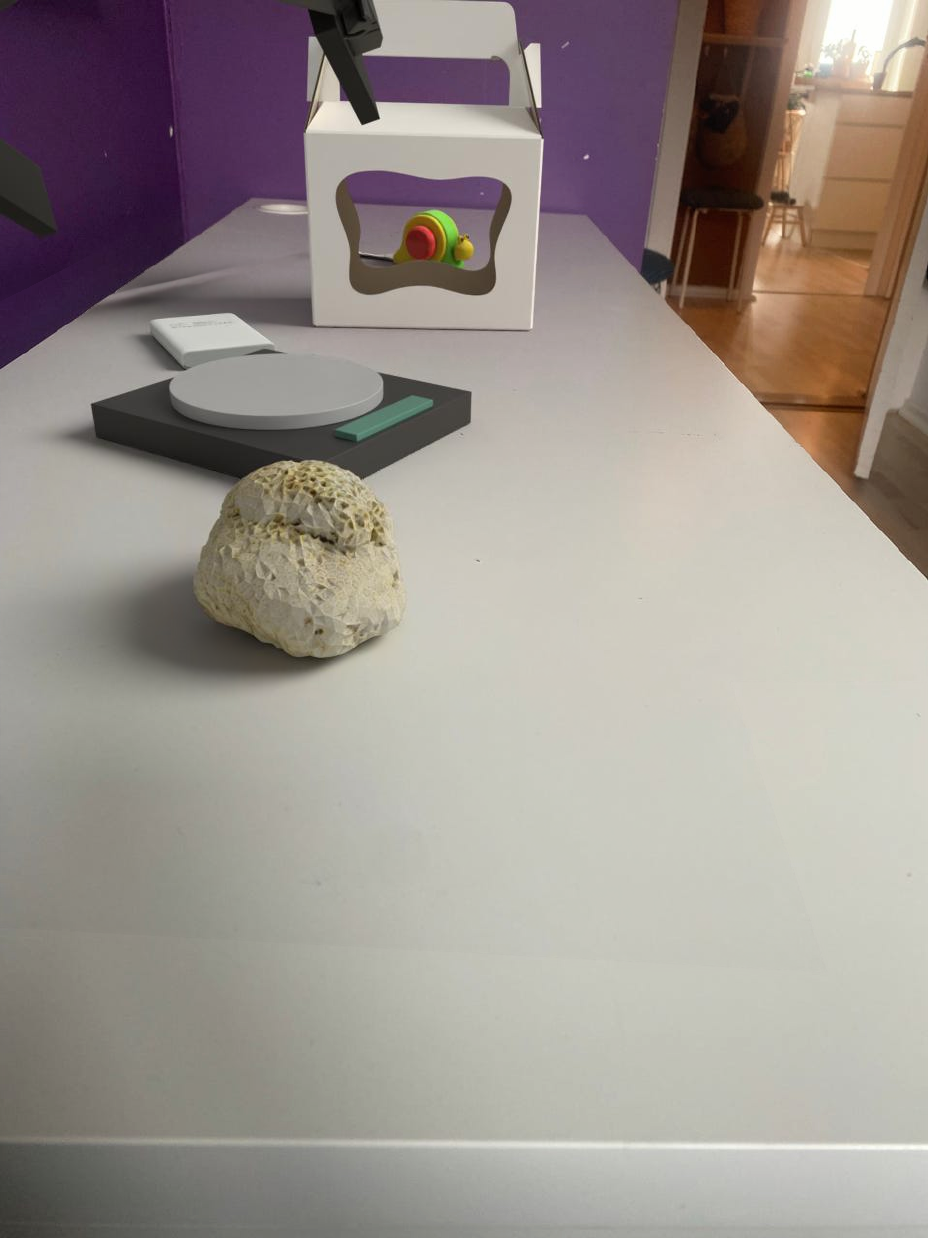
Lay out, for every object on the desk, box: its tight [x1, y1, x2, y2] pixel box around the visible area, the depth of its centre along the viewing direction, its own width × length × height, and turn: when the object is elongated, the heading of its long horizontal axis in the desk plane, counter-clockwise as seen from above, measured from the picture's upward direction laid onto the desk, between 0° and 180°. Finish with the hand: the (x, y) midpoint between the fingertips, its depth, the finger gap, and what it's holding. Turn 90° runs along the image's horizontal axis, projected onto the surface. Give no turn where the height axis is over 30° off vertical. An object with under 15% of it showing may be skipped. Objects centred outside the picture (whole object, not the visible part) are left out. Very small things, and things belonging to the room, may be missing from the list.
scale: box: [90, 349, 473, 481], centre depth 72 cm, size 20×18×3 cm
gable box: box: [303, 0, 545, 331], centre depth 98 cm, size 22×13×28 cm, turn 92°
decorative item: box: [192, 460, 408, 659], centre depth 48 cm, size 12×9×10 cm
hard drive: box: [149, 312, 276, 370], centre depth 91 cm, size 2×8×12 cm
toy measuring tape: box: [359, 209, 475, 269], centre depth 127 cm, size 6×19×7 cm, turn 58°
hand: (197, 146), depth 39 cm, fingers open, 13 cm apart
